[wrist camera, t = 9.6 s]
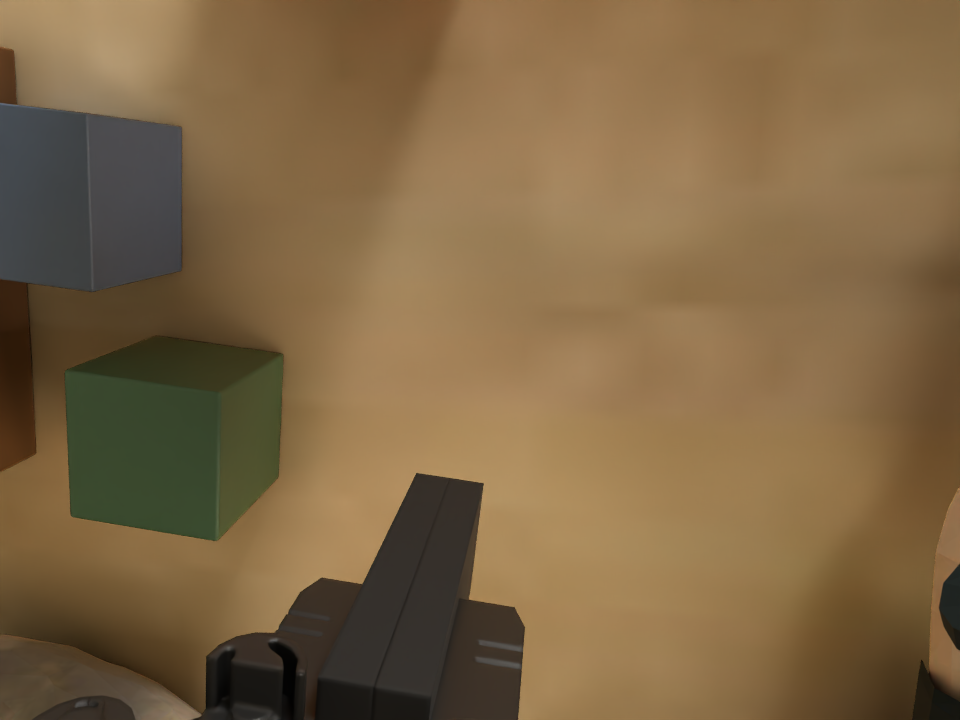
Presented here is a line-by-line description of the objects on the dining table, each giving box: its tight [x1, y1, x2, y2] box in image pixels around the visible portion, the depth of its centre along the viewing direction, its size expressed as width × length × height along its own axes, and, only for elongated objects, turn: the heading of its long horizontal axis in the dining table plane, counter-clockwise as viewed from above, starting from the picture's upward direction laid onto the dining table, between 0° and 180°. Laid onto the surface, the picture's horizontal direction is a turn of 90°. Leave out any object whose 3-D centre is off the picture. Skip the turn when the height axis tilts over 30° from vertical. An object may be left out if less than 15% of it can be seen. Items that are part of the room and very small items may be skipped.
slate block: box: [0, 103, 182, 292], centre depth 18 cm, size 4×4×4 cm
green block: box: [65, 336, 283, 541], centre depth 19 cm, size 4×4×4 cm
